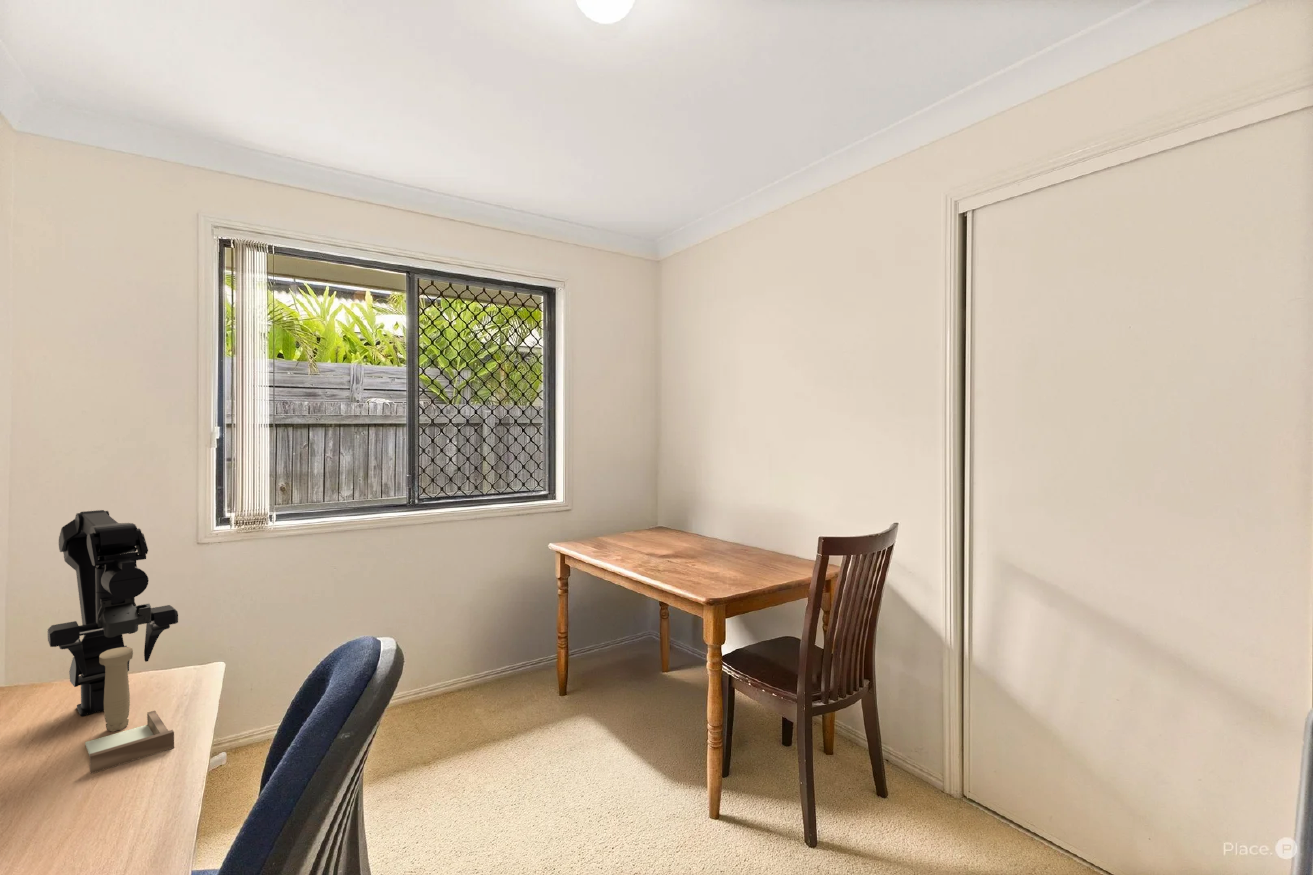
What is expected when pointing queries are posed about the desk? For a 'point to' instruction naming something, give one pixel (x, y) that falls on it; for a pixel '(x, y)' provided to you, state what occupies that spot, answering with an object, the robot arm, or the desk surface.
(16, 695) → the desk surface
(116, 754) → the walls
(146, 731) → the pad
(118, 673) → the handle
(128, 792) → the desk surface
